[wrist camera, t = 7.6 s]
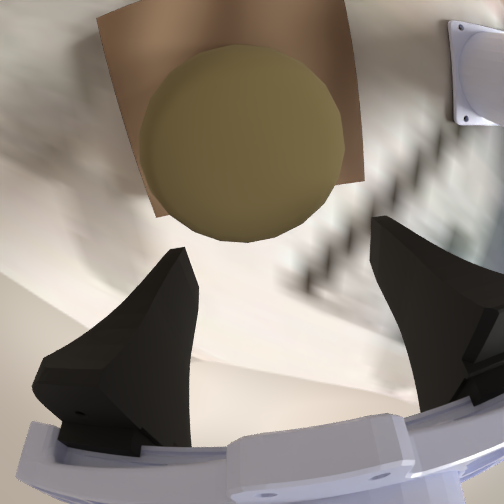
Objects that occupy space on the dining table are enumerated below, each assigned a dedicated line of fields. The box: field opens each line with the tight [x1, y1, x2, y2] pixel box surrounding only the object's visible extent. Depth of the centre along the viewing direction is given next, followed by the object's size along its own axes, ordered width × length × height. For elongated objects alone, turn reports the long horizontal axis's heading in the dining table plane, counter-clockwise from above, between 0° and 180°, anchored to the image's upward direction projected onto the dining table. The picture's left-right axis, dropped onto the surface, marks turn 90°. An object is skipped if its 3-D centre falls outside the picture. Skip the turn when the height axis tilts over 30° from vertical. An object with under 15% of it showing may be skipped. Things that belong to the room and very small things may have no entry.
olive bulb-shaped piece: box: [139, 44, 345, 243], centre depth 11 cm, size 6×6×11 cm
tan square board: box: [96, 0, 365, 218], centre depth 16 cm, size 13×13×3 cm
